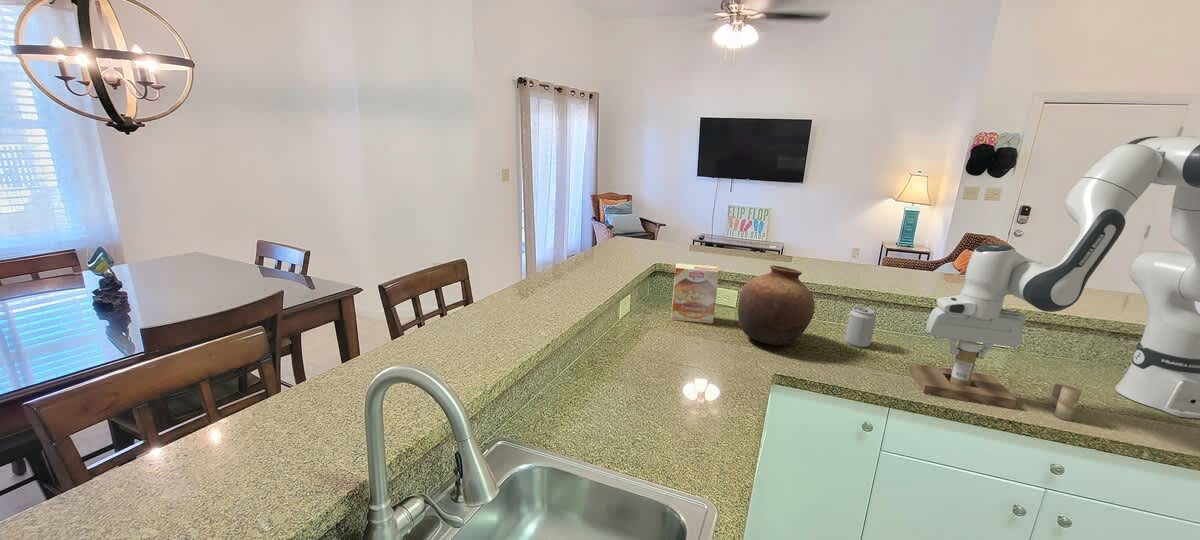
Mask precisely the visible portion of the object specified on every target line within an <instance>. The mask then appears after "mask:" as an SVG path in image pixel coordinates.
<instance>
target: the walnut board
mask: <svg viewBox="0 0 1200 540" xmlns="http://www.w3.org/2000/svg"><path fill="white" fill-rule="evenodd" d="M952 370H953V368H946V367H938V366H932V365H926V364H918V363H913V362H910V364H909V369H908V372H909V374H910V375H911V377H912V378H913V380H914V382H915V383H916V382H917V383H916V384H918V385H919V386H918V385H917V386H918V388H919V387H920V388H921V389H920V388H919V389H920V391H921V390H922V391H923V392H922V391H921V392H922V394H923V393H926V394H925V395H928V394H931V396H934V395H936V396H935V397H940V396H941V397H942V398H946V397H948V398H947V399H952V398H953V400H958V399H959V401H964V400H965V402H970V401H972V402H971V403H976V402H978V404H982V405H989V406H994V407H1000V408H1001V407H1002V408H1007V409H1012V410H1014V409H1015V408H1016V405H1017V401H1018V399H1017V398H1016V397H1015V396H1014V395H1013V394H1011V391H1009V390H1008V389H1007V388H1006V387H1005V386H1004V385H1003V384H1002V383H1001V382H1000V381H999V380H998V379H997V378H996V377H995V376H994V375H991V374H984V373H978V372H973V375H972V379H971V381H970V386H964V385H957V384H951V383H950V379H951V374H952Z"/></svg>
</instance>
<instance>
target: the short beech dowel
mask: <svg viewBox="0 0 1200 540" xmlns="http://www.w3.org/2000/svg"><path fill="white" fill-rule="evenodd" d="M1062 386H1065V385H1064V384H1060V383H1055V384H1054V385H1053V388H1052V391H1051V395H1050V396H1049V397H1050V398H1049V401H1048V403H1049V404H1050V405H1051V406H1052V407H1055V406H1056V407H1057V403H1058V399H1059V396H1060V392H1061V389H1062ZM1056 407H1055V408H1056Z"/></svg>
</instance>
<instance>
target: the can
mask: <svg viewBox="0 0 1200 540" xmlns="http://www.w3.org/2000/svg"><path fill="white" fill-rule="evenodd" d="M876 319H877V315H875V310H873V309H871V308H869V307H866V306H865V307H864V306H853V307H852V310H850V311H849V315H848V321H847V327H846V332H845V337H844V340H845V341H846V343H847V344H849V345H850V346H852V347H856V348H863V349H864V348H867V347H869V346H870V345H871V344H872V339H873V335H874V329H875V324H876Z"/></svg>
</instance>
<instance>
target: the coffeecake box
mask: <svg viewBox="0 0 1200 540" xmlns="http://www.w3.org/2000/svg"><path fill="white" fill-rule="evenodd" d="M674 268H675V269H674V279H673V281H674V282H673V292H672V303H671V315H670V318H671V319H670V320H671V321H679V322H680V321H681V322H682V321H684V322H691V323H693V322H694V323H703V324H714V318H715V309H716V300H717V290H718V283H719V274H720V272H719V271H720V270H719V266H713V265H705V264H703V265H700V264H693V263H691V264H689V263H678V262H677V263H675V267H674Z"/></svg>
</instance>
